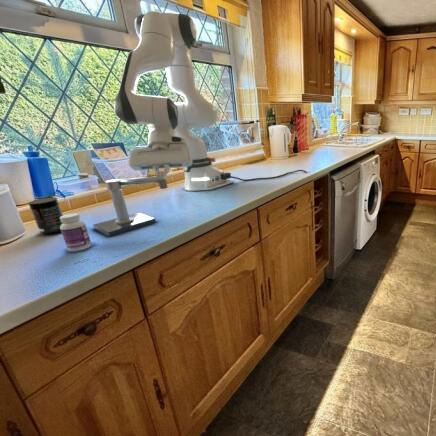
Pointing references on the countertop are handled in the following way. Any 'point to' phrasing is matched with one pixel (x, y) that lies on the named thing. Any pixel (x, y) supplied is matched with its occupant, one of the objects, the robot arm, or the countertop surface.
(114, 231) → the tap stand
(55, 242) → the countertop surface
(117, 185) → the spout
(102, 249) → the countertop surface
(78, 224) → the pill bottle
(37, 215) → the supplement container
